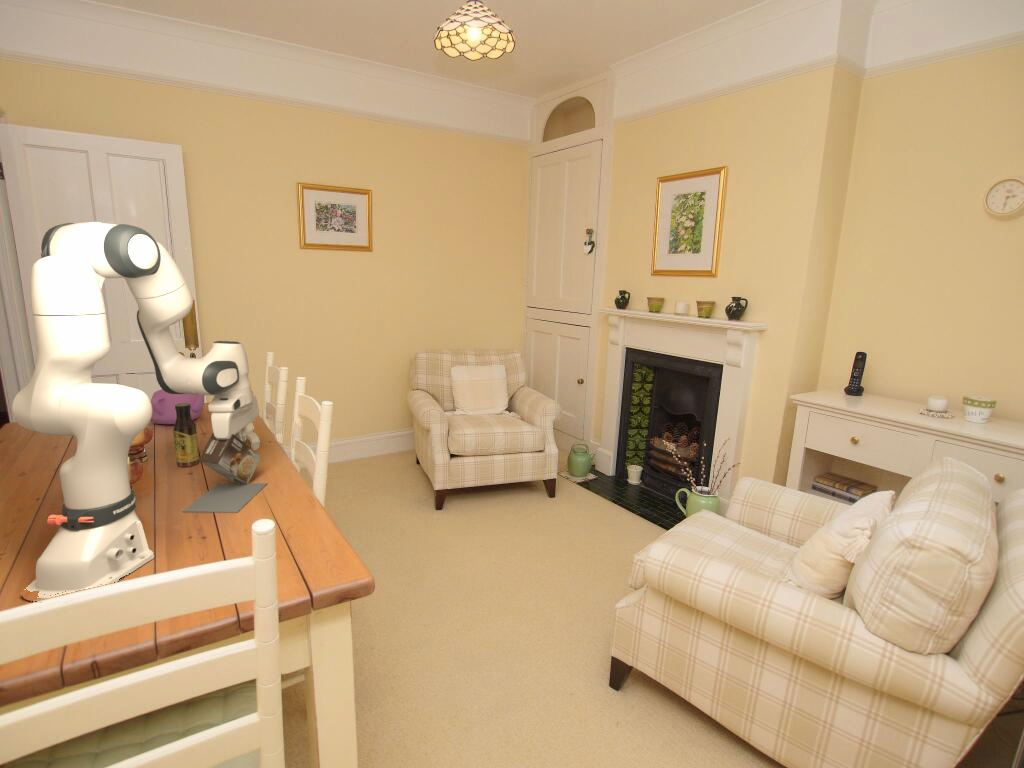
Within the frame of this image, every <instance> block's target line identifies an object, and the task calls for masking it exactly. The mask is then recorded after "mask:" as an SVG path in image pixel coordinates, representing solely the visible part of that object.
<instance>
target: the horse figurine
mask: <svg viewBox="0 0 1024 768" xmlns="http://www.w3.org/2000/svg"><path fill="white" fill-rule="evenodd" d="M245 436H246V440H249V442H250V448H251V449H258V450H259V449H260V445H261V441H260V437H259V436H258V435H257V433H256V432H255V426H254V423H253V421H252V422H251V423H249V424H248V425H247V430H246V435H245Z"/></svg>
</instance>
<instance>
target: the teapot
mask: <svg viewBox="0 0 1024 768" xmlns="http://www.w3.org/2000/svg"><path fill="white" fill-rule="evenodd" d="M150 401H151V404H152V417H151V420H150V422H151V421H152V423H153V424H158V425H175V422H176V419H177V418H176V417H177V414H176V409H175V405H176V404H179V403H190V406H191V408H190V414H191V419H192V420H193V421H194V420H196V419H199V418H200V417H201V416H202V414H203V412H204V406H205V395H195V394H170V393H167V392H165V391H164V390H163V389H162V388H161V389H159V390H156V391H155V392H153V394H152V396H151V398H150Z"/></svg>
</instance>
